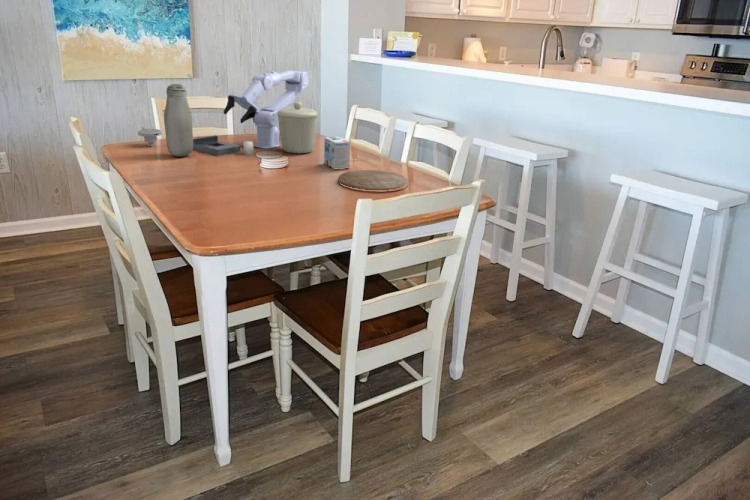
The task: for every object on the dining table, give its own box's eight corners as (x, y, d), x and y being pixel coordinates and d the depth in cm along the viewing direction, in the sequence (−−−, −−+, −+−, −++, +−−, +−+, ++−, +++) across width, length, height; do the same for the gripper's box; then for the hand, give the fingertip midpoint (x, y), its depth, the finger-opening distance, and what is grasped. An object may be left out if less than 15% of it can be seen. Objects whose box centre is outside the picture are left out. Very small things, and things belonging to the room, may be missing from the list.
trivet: (329, 176, 214) (329, 171, 213) (392, 173, 222) (392, 168, 222) (350, 195, 192) (351, 189, 192) (418, 191, 201) (419, 186, 200)
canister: (316, 157, 241) (316, 105, 233) (273, 154, 241) (272, 103, 233) (321, 148, 258) (321, 99, 250) (280, 146, 258) (280, 97, 250)
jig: (216, 145, 252) (215, 135, 251) (240, 151, 244) (240, 141, 242) (193, 149, 243) (192, 138, 242) (217, 155, 234) (217, 144, 233)
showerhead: (152, 126, 249) (165, 129, 244) (153, 142, 252) (167, 146, 247) (132, 128, 242) (145, 131, 237) (134, 145, 245) (147, 149, 240)
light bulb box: (323, 163, 231) (323, 136, 227) (338, 162, 234) (339, 136, 230) (334, 170, 222) (334, 142, 218) (350, 169, 225) (350, 141, 221)
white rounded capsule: (249, 152, 243) (248, 140, 242) (255, 153, 241) (255, 142, 239) (241, 153, 240) (241, 141, 239) (248, 155, 238) (247, 143, 236)
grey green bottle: (178, 160, 225) (172, 86, 214) (162, 155, 230) (156, 83, 220) (199, 156, 232) (194, 84, 222) (183, 152, 238) (178, 82, 227)
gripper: (235, 81, 236) (217, 102, 230) (266, 97, 236) (248, 119, 229) (235, 92, 242) (217, 113, 236) (265, 108, 242) (248, 130, 235)
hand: (232, 117), depth 233 cm, fingers open, 7 cm apart
